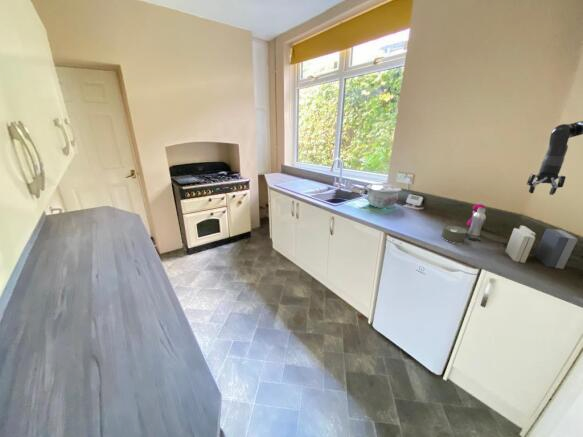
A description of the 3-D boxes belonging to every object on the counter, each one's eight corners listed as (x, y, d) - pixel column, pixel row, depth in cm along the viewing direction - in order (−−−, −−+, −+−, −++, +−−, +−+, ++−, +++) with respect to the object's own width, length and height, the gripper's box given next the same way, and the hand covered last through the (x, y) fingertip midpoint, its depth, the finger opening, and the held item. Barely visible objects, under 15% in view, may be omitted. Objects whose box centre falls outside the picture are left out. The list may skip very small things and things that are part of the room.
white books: (514, 253, 127) (524, 229, 122) (524, 262, 118) (535, 237, 113) (505, 251, 129) (513, 228, 124) (514, 261, 119) (524, 236, 114)
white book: (515, 248, 132) (524, 225, 127) (525, 258, 122) (535, 233, 117) (511, 248, 132) (520, 225, 127) (520, 257, 123) (530, 233, 118)
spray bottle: (474, 233, 150) (483, 204, 143) (462, 229, 156) (471, 201, 149) (480, 232, 153) (490, 203, 146) (469, 228, 159) (478, 199, 152)
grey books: (549, 258, 122) (562, 230, 117) (563, 269, 113) (578, 239, 107) (534, 255, 124) (546, 228, 119) (546, 266, 115) (559, 236, 109)
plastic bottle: (464, 239, 142) (474, 208, 135) (466, 236, 147) (475, 205, 139) (477, 243, 138) (488, 211, 131) (479, 239, 142) (489, 208, 135)
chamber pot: (402, 206, 203) (407, 182, 195) (390, 214, 184) (394, 188, 176) (372, 199, 221) (375, 177, 213) (357, 206, 202) (360, 182, 194)
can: (466, 239, 142) (469, 229, 140) (461, 245, 134) (464, 234, 132) (443, 233, 150) (446, 223, 148) (438, 238, 142) (440, 228, 140)
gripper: (538, 164, 125) (528, 194, 130) (574, 165, 120) (562, 196, 125) (531, 163, 131) (521, 191, 137) (565, 164, 126) (553, 193, 132)
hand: (541, 193), depth 131 cm, fingers open, 8 cm apart
